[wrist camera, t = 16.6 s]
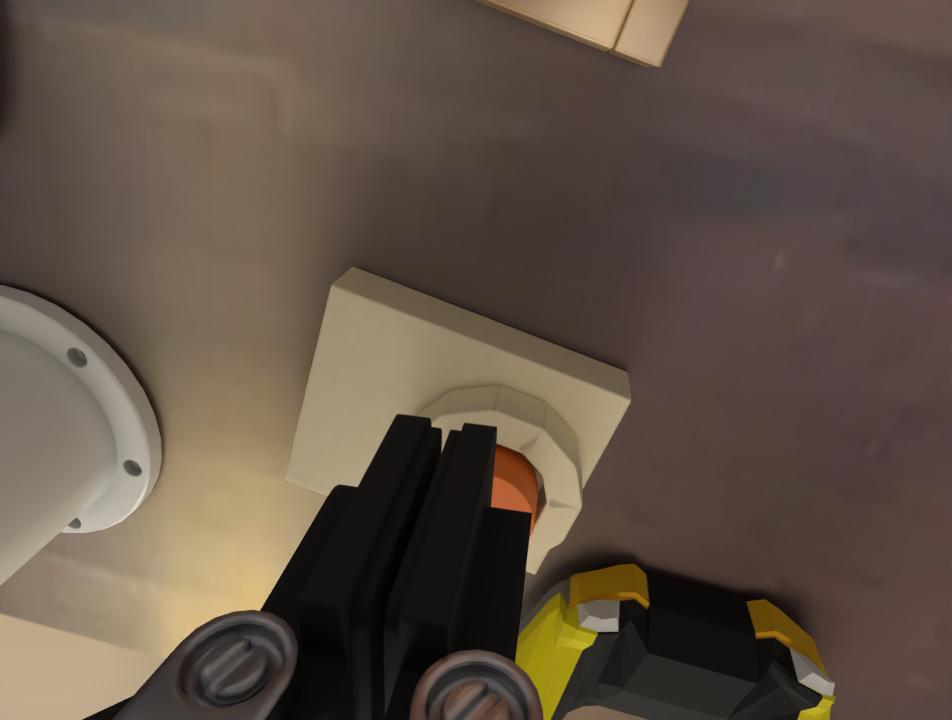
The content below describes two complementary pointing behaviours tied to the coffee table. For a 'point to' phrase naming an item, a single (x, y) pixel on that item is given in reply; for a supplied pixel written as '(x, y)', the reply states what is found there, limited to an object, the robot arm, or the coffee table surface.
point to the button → (514, 484)
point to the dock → (606, 24)
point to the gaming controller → (668, 652)
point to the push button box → (451, 394)
